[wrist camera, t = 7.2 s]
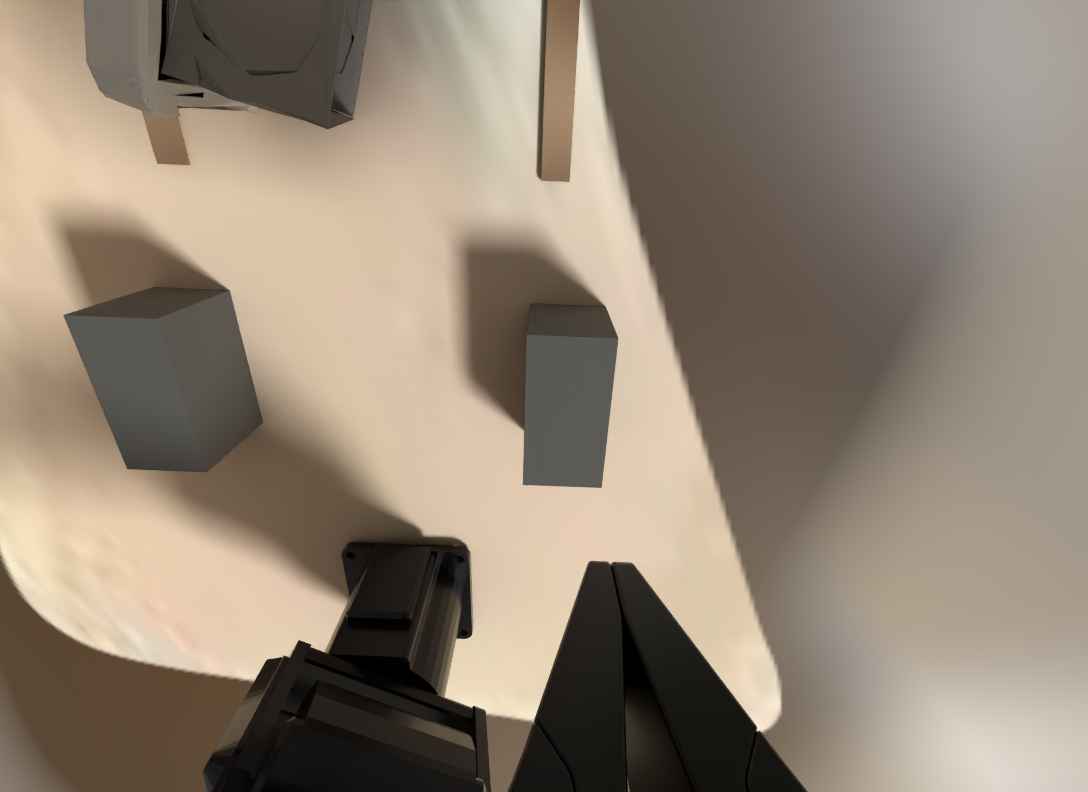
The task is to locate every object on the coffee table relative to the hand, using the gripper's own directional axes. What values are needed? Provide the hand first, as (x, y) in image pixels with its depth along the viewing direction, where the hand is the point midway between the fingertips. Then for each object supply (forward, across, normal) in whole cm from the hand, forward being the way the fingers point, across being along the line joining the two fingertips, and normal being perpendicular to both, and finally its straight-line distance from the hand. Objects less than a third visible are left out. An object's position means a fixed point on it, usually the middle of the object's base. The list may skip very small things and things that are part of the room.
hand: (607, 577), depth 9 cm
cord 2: (+12, +15, +1) cm, 20 cm away
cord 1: (+12, 0, +1) cm, 12 cm away
